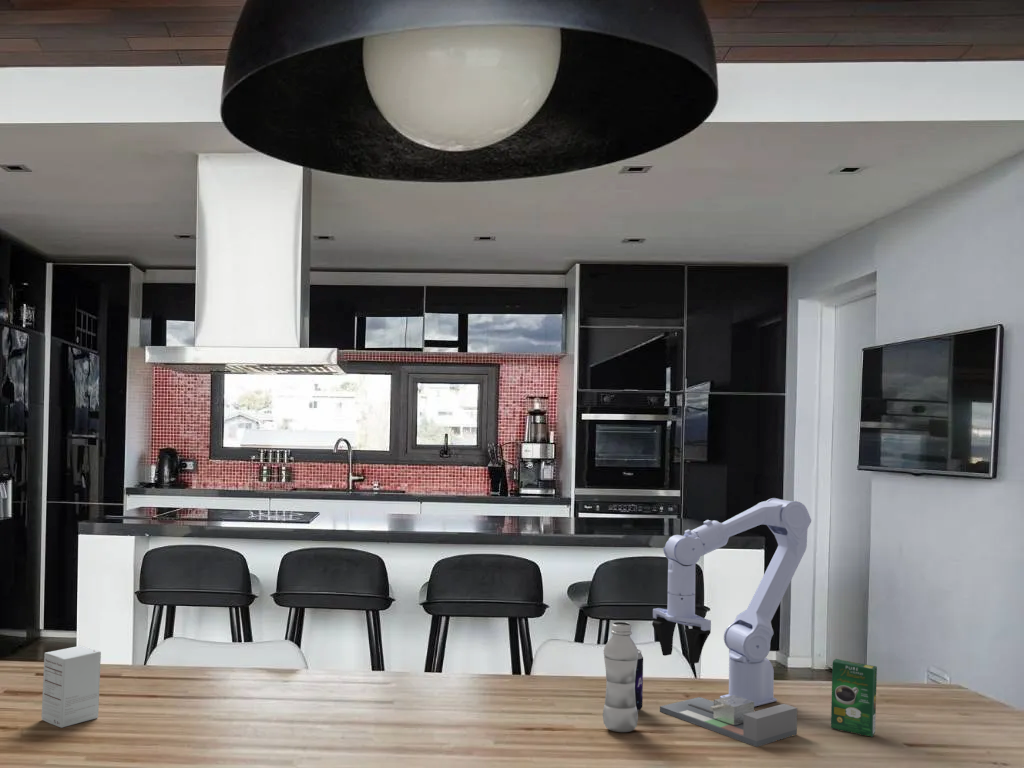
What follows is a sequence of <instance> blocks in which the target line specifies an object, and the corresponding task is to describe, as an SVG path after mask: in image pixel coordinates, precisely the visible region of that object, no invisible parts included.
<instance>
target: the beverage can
mask: <svg viewBox="0 0 1024 768" xmlns="http://www.w3.org/2000/svg"><path fill="white" fill-rule="evenodd" d="M637 650H638V658H637V659H638V660H637V667H636V675H635V698H636V707H637V712H638V713H639V711H640V710H642V709H643V704H644V703H643V697H644V696H643V692H644V689H643V688H644V657H643V654H642V650H641V649H638V648H637Z"/></svg>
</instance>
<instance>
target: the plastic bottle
mask: <svg viewBox="0 0 1024 768" xmlns="http://www.w3.org/2000/svg"><path fill="white" fill-rule="evenodd" d="M610 634H612V635H611V637H610V639H608V641H607V642H606V644H605V645H604V649H603V659H604V668H605V679H606V688H605V699H604V705H603V709H602V720H603V725H604V727H605V728H606V729H608V730H610V731H612V732H618V733H629V732H633V731H634V730H635V729H636V727H637V726H638V719H639V712H637V707H636V698H635V675H636V667H637V660H638V659H637V658H638V650H637V649H638V648H637V645H636V644H635V642H634V640H633V638H632V637H631V635H632V634H633V631H632V623H630V622H627V621H626V622H625V621H613V622H612V623H611V630H610Z"/></svg>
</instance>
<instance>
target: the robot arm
mask: <svg viewBox="0 0 1024 768" xmlns="http://www.w3.org/2000/svg"><path fill="white" fill-rule="evenodd" d="M811 523H812V518H811V516H810V513H809V510H808V509H807V507H806V505H805V504H804V503H802V502H801V501H796V500H795V501H794V500H791V501H790V500H788V499H787V500H785V499H780V498H776V497H772V498H769V499H767V500H764V501H761V502H760V501H759V502H758V503H757V504H755V505H753V506H752V507H750V508H748V509H746V510H744V511H742V512H740V513H738V514H736V515H734V516H732V517H731V518H728V519H727V520H725V521H723V522H719V521H718V520H709V519H706V520H705V521H703V524H702V525H699V526H698V527H696V528H694V529H686V530H684V534H683V535H682V534H674V535H672V536H670V537H669V538H668V540H667V541H666V543H665V544H664V546H663V547H662V551H663V554H664V556H665V557H666V559H667V606H666V607H667V608H661V607H657V608H653V609H652V619H655V620H653V621H652V622H651V625H652V627H653V628H654V631H655V632H656V636H657V638H658V640H659V645H660V649H661V653H662V656H665V657H666V656H670V655H672V653H673V643H674V633H675V629H676V625H677V624H680V625H683V626H688V627H691V628H685V629H684V632H685V635H686V638H687V645H688V660H689V663H690V664H692V665H693V664H698V663H700V659H701V655H702V652H703V649H704V645H705V644H706V642H707V639H708V638H709V636H710V634H711V629H712V620H711V619H709V618H708V619H707V618H705V617H702V616H700V615H697V614H696V564H697V563H698V562H699V560H700V559H701V557H703V556H705V555H708V554H710V553H712V552H713V551H716V550H718V549H720V548H722V547H725V546H726V545H727V543H728V542H729V538H731V537H733V536H735V535H737V534H740V533H743V532H746V531H748V530H750V529H753V528H756V527H757V526H760V525H761V526H762V525H765V526H767V527H768V529H769V530H770V531H771V533H772V534H773V535H774V538H775V540H776V542H777V547H776V550H775V552H774V554H773V556H772V558H771V560H770V562H769V564H768V566H767V567H766V570H765V572H764V574H763V576H762V578H761V580H760V582H759V584H758V586H757V588H756V591H754V594H753V596H752V598H751V600H750V602H749V604H748V606H747V608H746V609H745V610H743V611H742V612H740V613H739V614H737V615H736V617H735V619H734V621H733V622H732V623H730V624H729V625H728V626H727V628H725V630H724V633H723V642H724V644H725V646H726V647H727V649H728V662H729V663H728V694H723V695H720V696H719V699H720V698H724V697H728V696H732V695H735V696H738V697H741V698H744V699H747V700H751V701H754V708H756V707H757V706H762V705H767V704H770V703H773V702H777V701H778V699H777V698H776V697H774V689H775V688H774V687H775V685H774V683H775V681H774V680H775V679H774V678H775V676H774V675H775V674H774V667H773V663H772V662H771V661H770V660H769V658H767V656H768V655H769V653H770V651H771V640H772V638H773V635H774V629H773V627H772V626H773V625H772V620H773V618H774V616H775V614H776V612H777V610H778V608H779V606H780V604H781V601H782V600H783V598H784V596H785V594H786V592H787V589H788V588H789V586H790V583H791V582H792V579H793V577H794V575H795V572H796V571H797V569H798V567H799V566H800V563H801V561H802V558H803V557H804V555H805V553H806V550H807V547H808V544H807V543H808V529H809V527H810V525H811Z"/></svg>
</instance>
